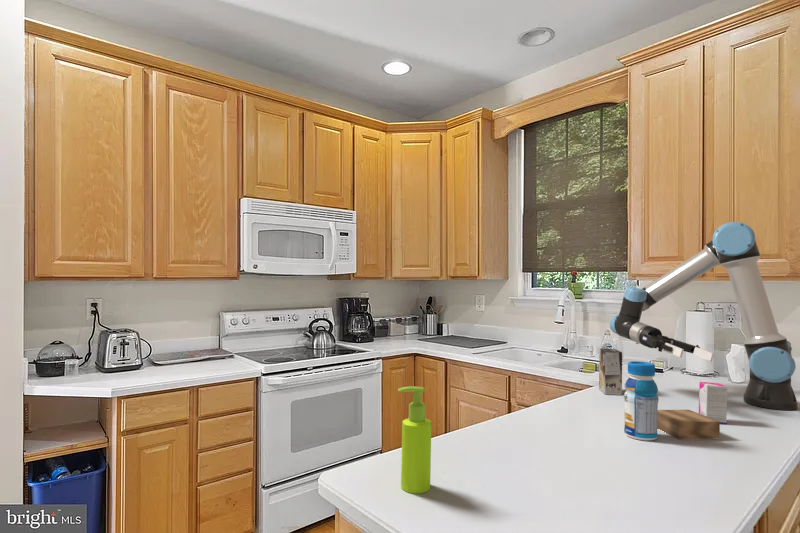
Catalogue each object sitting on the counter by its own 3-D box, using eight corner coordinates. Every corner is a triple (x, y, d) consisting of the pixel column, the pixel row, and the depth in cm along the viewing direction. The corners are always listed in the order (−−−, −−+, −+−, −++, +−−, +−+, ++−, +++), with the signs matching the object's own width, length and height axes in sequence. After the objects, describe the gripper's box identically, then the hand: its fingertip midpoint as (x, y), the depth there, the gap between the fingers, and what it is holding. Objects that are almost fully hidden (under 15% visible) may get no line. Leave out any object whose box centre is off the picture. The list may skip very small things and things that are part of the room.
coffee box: (622, 395, 180) (623, 352, 180) (604, 394, 180) (605, 351, 181) (615, 390, 189) (615, 348, 189) (598, 389, 190) (598, 348, 190)
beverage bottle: (650, 443, 126) (651, 367, 127) (618, 435, 133) (618, 362, 133) (663, 437, 132) (663, 363, 132) (631, 429, 138) (632, 359, 139)
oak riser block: (688, 426, 144) (688, 409, 144) (719, 440, 132) (719, 421, 132) (650, 427, 142) (651, 409, 143) (678, 440, 131) (678, 422, 131)
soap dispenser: (394, 481, 100) (396, 384, 100) (427, 480, 101) (429, 384, 101) (397, 493, 94) (399, 390, 95) (432, 493, 95) (434, 390, 95)
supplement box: (727, 424, 145) (727, 386, 145) (705, 423, 146) (705, 385, 146) (718, 419, 151) (719, 382, 151) (697, 417, 152) (698, 381, 152)
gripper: (668, 348, 182) (721, 369, 162) (617, 341, 173) (665, 362, 154) (674, 329, 181) (727, 348, 161) (622, 321, 173) (671, 340, 153)
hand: (697, 355), depth 157 cm, fingers open, 13 cm apart
